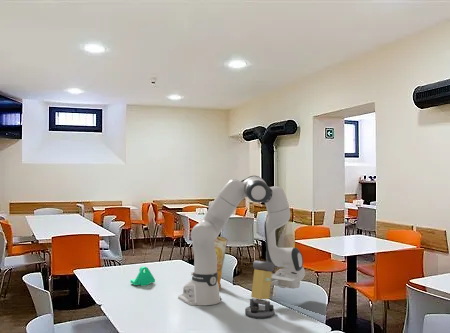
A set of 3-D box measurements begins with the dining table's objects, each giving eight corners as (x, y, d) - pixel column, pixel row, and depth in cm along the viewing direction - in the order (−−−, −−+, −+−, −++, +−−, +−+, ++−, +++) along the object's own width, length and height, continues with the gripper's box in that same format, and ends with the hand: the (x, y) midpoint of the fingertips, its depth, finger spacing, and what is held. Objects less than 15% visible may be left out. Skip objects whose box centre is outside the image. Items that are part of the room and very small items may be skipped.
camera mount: (149, 281, 249) (149, 263, 250) (154, 284, 243) (155, 266, 243) (129, 284, 243) (130, 266, 243) (135, 287, 236) (135, 268, 237)
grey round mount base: (239, 314, 188) (239, 301, 188) (255, 307, 198) (255, 294, 198) (264, 320, 180) (264, 306, 180) (280, 313, 190) (280, 299, 190)
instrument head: (246, 302, 189) (251, 259, 192) (255, 302, 194) (259, 260, 198) (264, 305, 183) (268, 262, 187) (272, 305, 189) (276, 263, 192)
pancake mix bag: (209, 282, 247) (209, 233, 248) (228, 289, 232) (228, 237, 232) (199, 283, 244) (200, 234, 244) (218, 290, 228) (218, 238, 229)
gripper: (265, 268, 212) (249, 273, 201) (302, 274, 200) (288, 279, 189) (265, 281, 212) (249, 286, 201) (302, 287, 200) (288, 294, 189)
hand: (268, 283), depth 195 cm, fingers closed
